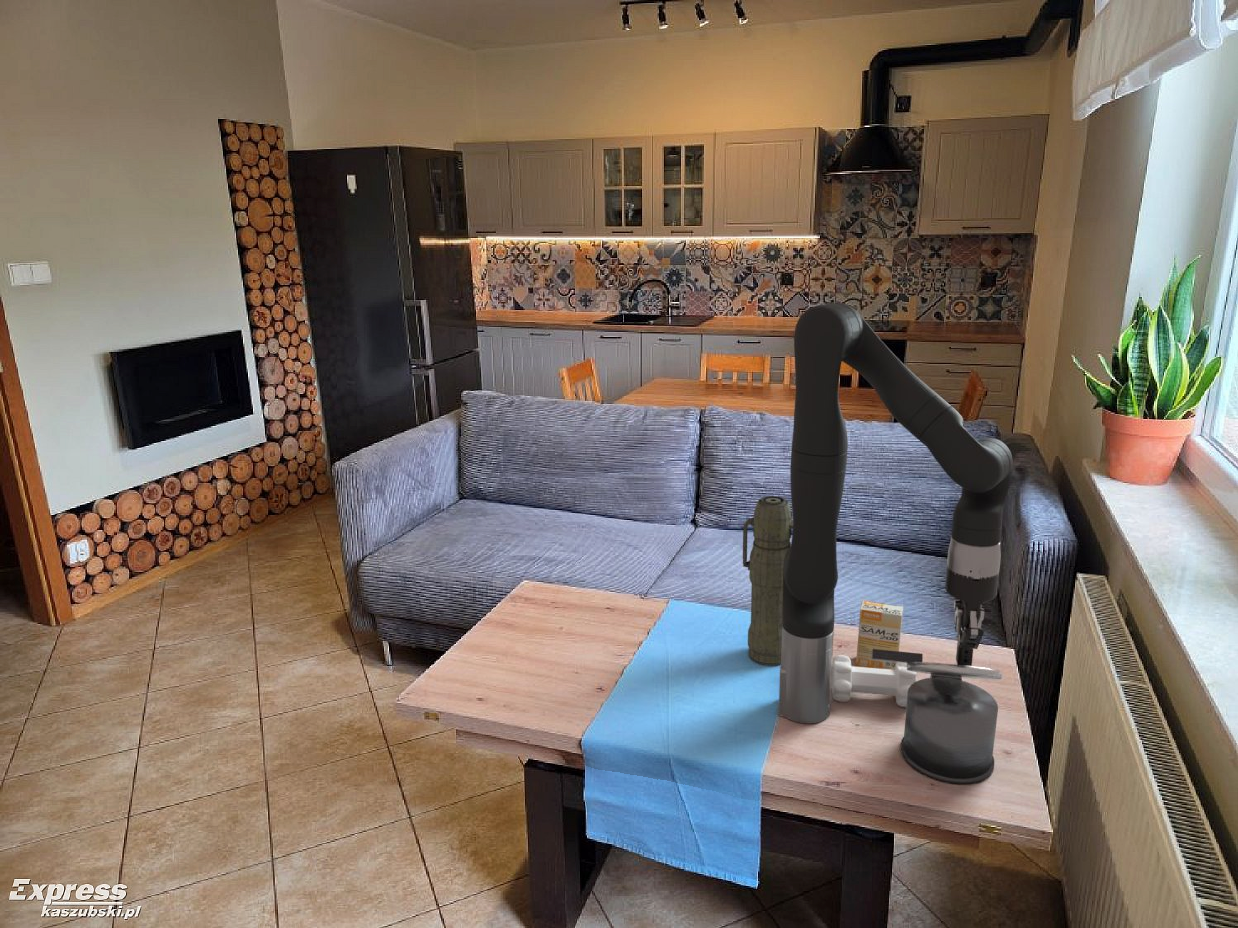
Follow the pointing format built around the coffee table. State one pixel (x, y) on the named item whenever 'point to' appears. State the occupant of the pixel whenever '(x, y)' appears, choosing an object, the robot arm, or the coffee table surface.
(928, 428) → the robot arm
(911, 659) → the cooker lid
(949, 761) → the cooker pot
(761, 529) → the thermos
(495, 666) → the coffee table surface
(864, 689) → the white bone
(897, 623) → the supplement box
